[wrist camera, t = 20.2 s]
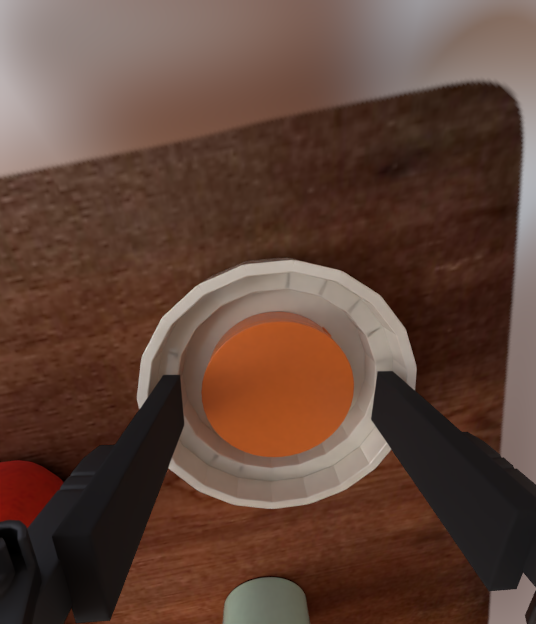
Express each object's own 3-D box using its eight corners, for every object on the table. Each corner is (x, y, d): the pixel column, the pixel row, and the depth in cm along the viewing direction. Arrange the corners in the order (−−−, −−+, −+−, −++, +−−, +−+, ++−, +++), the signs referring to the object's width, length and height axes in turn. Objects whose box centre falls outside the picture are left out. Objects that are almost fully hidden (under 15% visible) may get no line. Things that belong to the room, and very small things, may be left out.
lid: (271, 280, 13) (274, 285, 11) (369, 367, 14) (386, 384, 12) (180, 383, 14) (169, 404, 12) (279, 452, 15) (283, 480, 14)
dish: (427, 332, 14) (471, 353, 12) (307, 488, 17) (318, 538, 14) (231, 207, 12) (224, 195, 9) (124, 410, 15) (92, 451, 12)
